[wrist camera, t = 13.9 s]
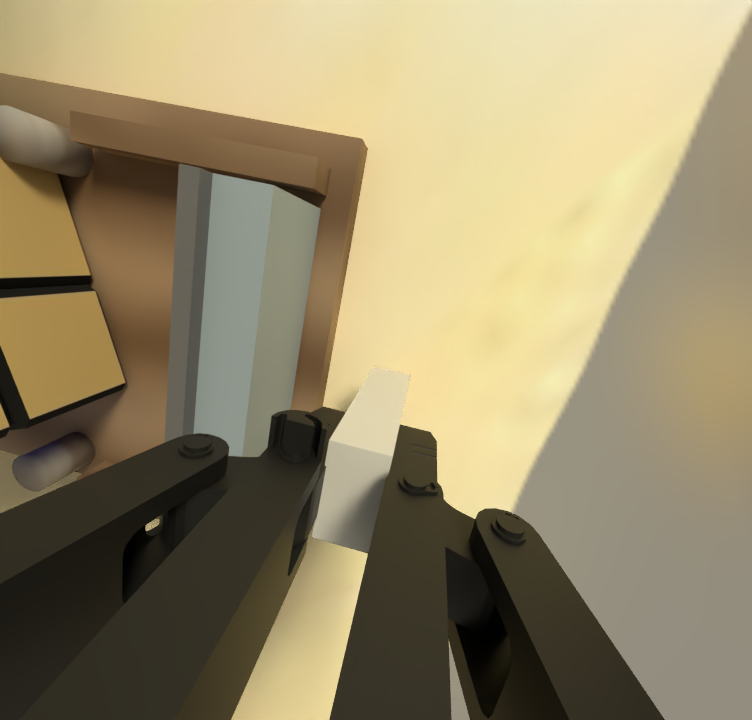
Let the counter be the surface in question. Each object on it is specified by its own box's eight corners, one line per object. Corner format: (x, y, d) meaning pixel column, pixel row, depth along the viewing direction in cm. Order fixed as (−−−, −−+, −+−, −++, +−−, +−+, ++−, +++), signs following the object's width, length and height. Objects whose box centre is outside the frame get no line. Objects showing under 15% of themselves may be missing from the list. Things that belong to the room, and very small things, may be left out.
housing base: (-135, 56, 17) (-309, -8, 13) (367, 148, 15) (343, 105, 11) (-83, 409, 22) (-199, 441, 18) (302, 519, 20) (268, 584, 16)
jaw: (262, 197, 15) (178, 163, 10) (320, 208, 14) (264, 180, 10) (230, 489, 18) (158, 569, 13) (276, 503, 18) (219, 588, 13)
